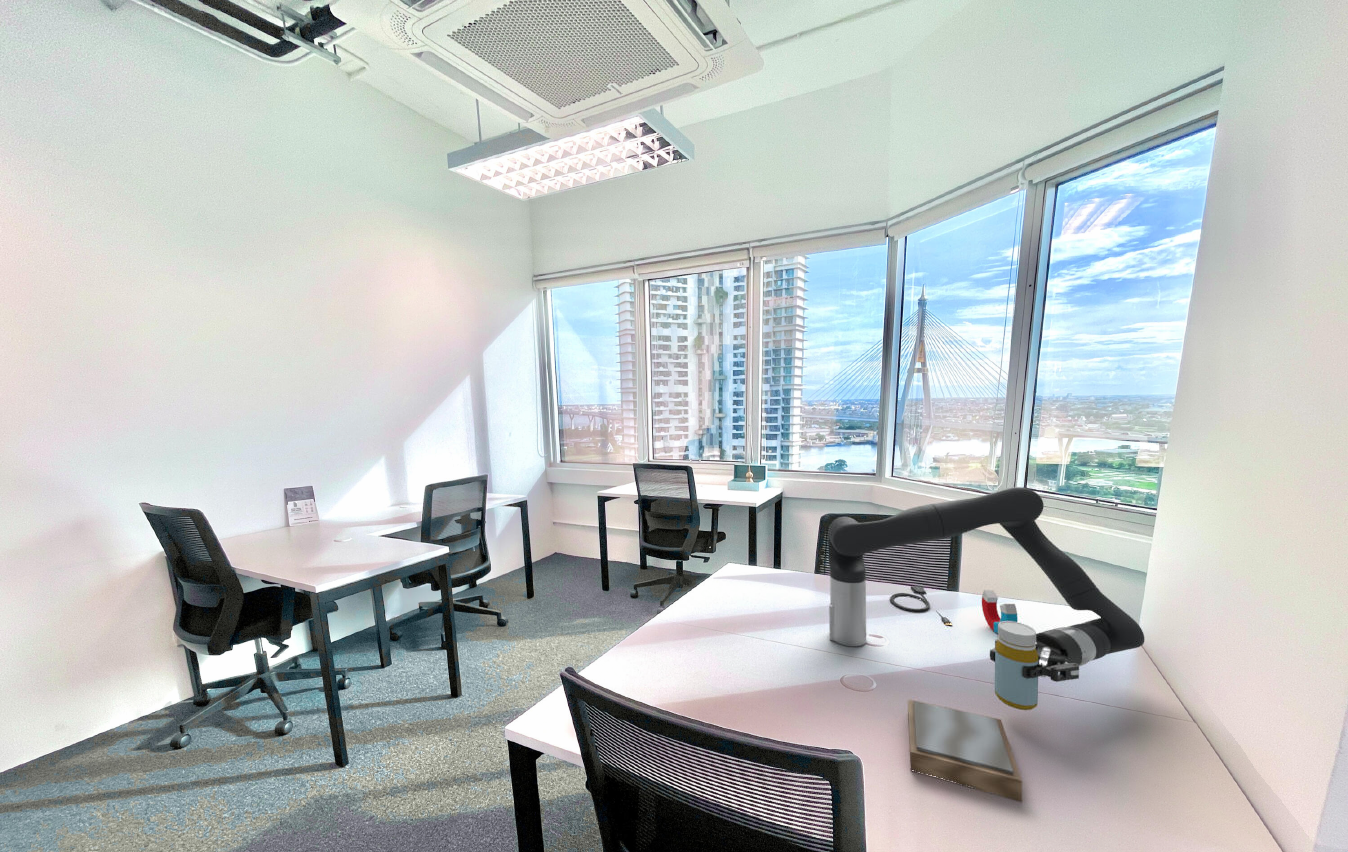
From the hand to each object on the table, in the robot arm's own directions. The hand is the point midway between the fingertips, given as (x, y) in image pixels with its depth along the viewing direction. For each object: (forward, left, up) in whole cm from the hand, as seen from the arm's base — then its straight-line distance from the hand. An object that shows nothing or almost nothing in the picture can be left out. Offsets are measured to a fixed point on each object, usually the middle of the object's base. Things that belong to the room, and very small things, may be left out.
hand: (1007, 664), depth 93 cm
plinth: (-10, -13, -12) cm, 20 cm away
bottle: (+2, +2, -8) cm, 9 cm away
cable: (-15, +55, -13) cm, 58 cm away
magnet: (+6, +44, -12) cm, 46 cm away
